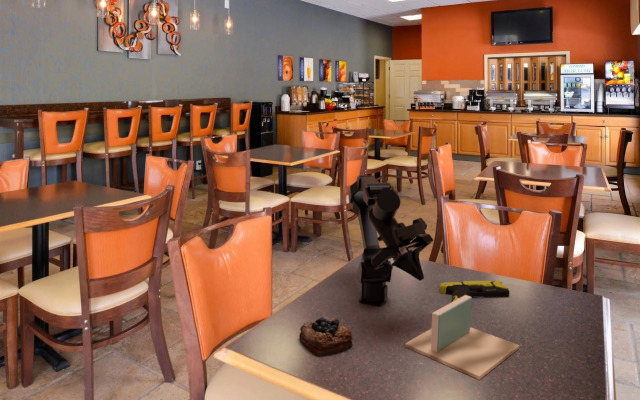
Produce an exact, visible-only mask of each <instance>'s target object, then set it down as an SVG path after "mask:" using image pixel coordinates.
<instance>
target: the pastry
mask: <svg viewBox="0 0 640 400" xmlns="http://www.w3.org/2000/svg"><path fill="white" fill-rule="evenodd" d="M299 330H300V332H299V340H300V342H301V343H302V344H303V346H305V348H306V349H307V350H308V351H309V352H311V353H312V356H317V357H322V356H323V357H324V356H328V355H329V356H330V355H333V354H336V353H340V352H342V351H343V352H344V351H346V350H348V349H350V348H352V347H353V345H354V344H353V340H354V338H353V334H352V331H351V330H350V329H348V328H347V327H346V326H344V325H343V324H341V322H340V319H338V318H334V317H332V318H329V316H328V317H323V316H322V317H321V316H320V317H319V318H317V319H315V320H314V321H307V322H306V323H305V322H304V323H303V324H302V325H301V327H300V329H299Z"/></svg>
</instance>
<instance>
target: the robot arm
mask: <svg viewBox="0 0 640 400" xmlns="http://www.w3.org/2000/svg"><path fill="white" fill-rule="evenodd" d="M348 190H349V191H348V203H349V204H350V206H351V211H352V212H353V213H354V214H356V216H357V217H358V221H359V227H360V234H361V239H362V246H363V252H362V253H361V259H360V262H359V264H358V269H357V279H358V281H359V283H360V284H361V287H360V288H361V292H360V293H361V298H360V299H359V300H358V301H359V303H362V304H367V305H372V306H378V307H381V306H382V305H383V304H384V303H385V302H386V301H387V300H388V298H389V297H388V293H389V291H388V287H389V286H388V285H387V283H390V282H391V280H392V274H393V273H392V271H393V268H394V267H396V268H397V269H399V270H401V271H403V272H405V273H406V274H408V275H410V276H412V277H413V278H414V279H416V280H418V281H422V280H425V276H424V272H423V269H422V265H421V261H420V253H421V252H422V251H423V250H425V249H426V248H428V246H430V245H431V244H432V243H433V242H434V240H435V239H433V237H432V236H431V235H430V234H429V233H426V230H427V228H428V224H427V223H426V221H425V220H424V219H423V218H422V217H418V218H415V219H413V220H412V224H409V225H406V224H405V223H404V222H398V221H397V219H396V217H395V216H396V215H397V212H398V211H399V208H400V206H401V198H400V197H399V195H398V193H397V192H396V190H395V188H394V187H393V186H392V185H391V183H390V182H380V181H378V180H377V179H376V177H375V175H372V174H370V175H369V174H367V175H366V174H365V175H363V174H362V175H359V176H357V177H356V181H355V182H353V183H352V184H351V185H350V186H349V189H348ZM379 242H383V244H384V245H385V247H381V246H380V243H379ZM391 259H392V261H393V262H392V263H391Z"/></svg>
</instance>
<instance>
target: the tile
mask: <svg viewBox="0 0 640 400" xmlns="http://www.w3.org/2000/svg"><path fill="white" fill-rule="evenodd" d="M472 304H473V297H470V296H467V295H464V296H463V297H461V298H459V299H457V300H455V301H453V302H452V301H451V302H449V303H448V304H446V305H444V306H442V307H441V308H439V309H437V310H435V311H433V312H432V313H431V316H432V317H431V328H432V330H431V350H433V351H435V352H438V351H439V350H441V349H442V348H444V347H445V346H447V345H449V344H450V343H452V342H453V341H455V340H456V339H458V338H460V337H461V336H463V335H464V334H466V333H467V332H469V331H470V327H471V322H472V321H471V319H472Z"/></svg>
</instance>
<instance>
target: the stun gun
mask: <svg viewBox="0 0 640 400" xmlns="http://www.w3.org/2000/svg"><path fill="white" fill-rule="evenodd" d="M438 291H439V293H440V294H441V295H442V294H443V295H451V303H452V302H453V301H455V300H457V299H459V298H461V297H463V296H464V295H467V296H470V297H471V298H509V297H510V290H509V287H508V286H507V285H504V284H503V282H502V281H501V280H464V281H444V282H442V283H439V286H438Z"/></svg>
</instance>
